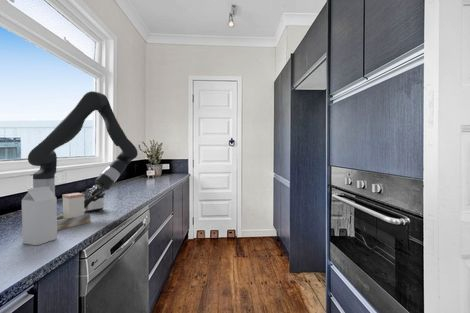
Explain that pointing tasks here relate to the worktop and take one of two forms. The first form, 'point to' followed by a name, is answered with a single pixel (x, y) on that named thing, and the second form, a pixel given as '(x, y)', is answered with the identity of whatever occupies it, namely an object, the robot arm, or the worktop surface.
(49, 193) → the milk carton
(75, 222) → the track
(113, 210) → the worktop surface
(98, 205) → the spread jar
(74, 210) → the pink-topped white box
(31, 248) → the worktop surface
